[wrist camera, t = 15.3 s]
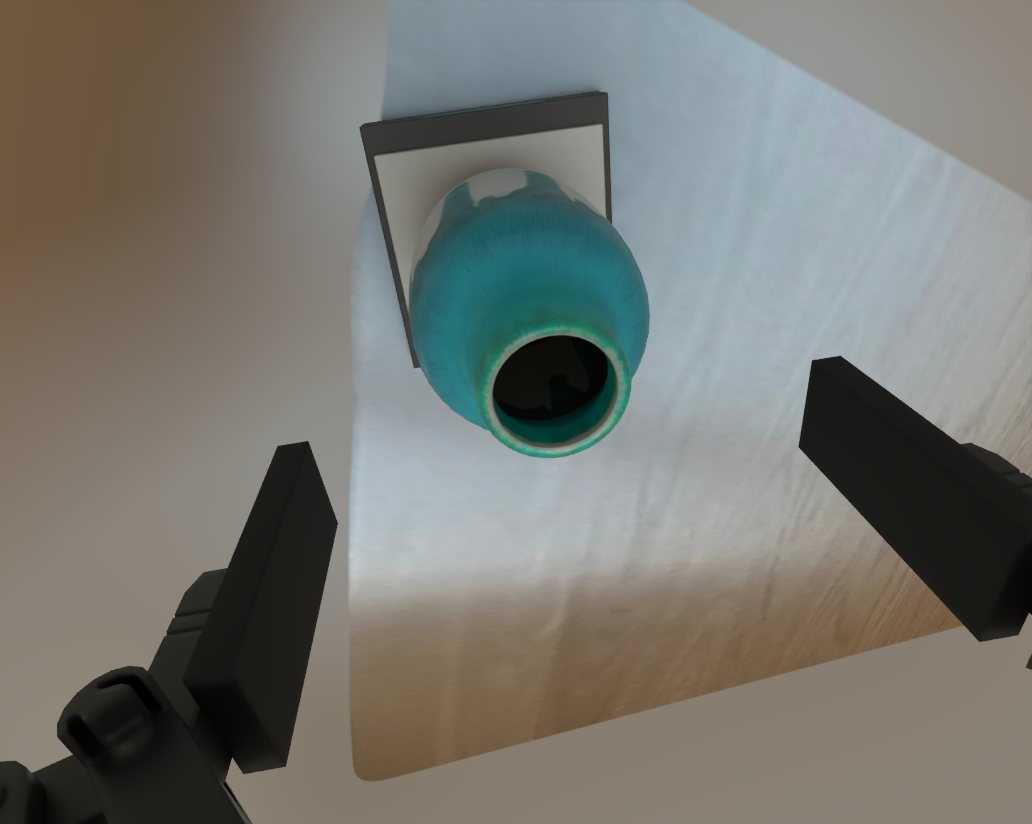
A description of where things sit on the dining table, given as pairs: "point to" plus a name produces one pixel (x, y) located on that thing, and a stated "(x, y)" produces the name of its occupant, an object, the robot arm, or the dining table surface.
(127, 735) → the robot arm
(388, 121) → the scale
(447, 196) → the vase
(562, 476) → the dining table surface
